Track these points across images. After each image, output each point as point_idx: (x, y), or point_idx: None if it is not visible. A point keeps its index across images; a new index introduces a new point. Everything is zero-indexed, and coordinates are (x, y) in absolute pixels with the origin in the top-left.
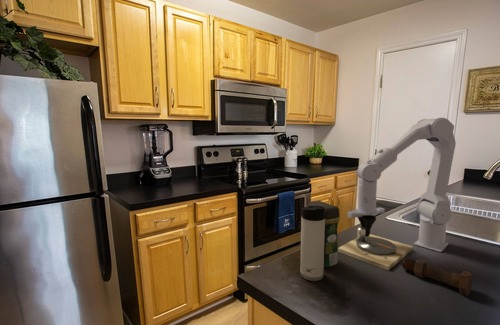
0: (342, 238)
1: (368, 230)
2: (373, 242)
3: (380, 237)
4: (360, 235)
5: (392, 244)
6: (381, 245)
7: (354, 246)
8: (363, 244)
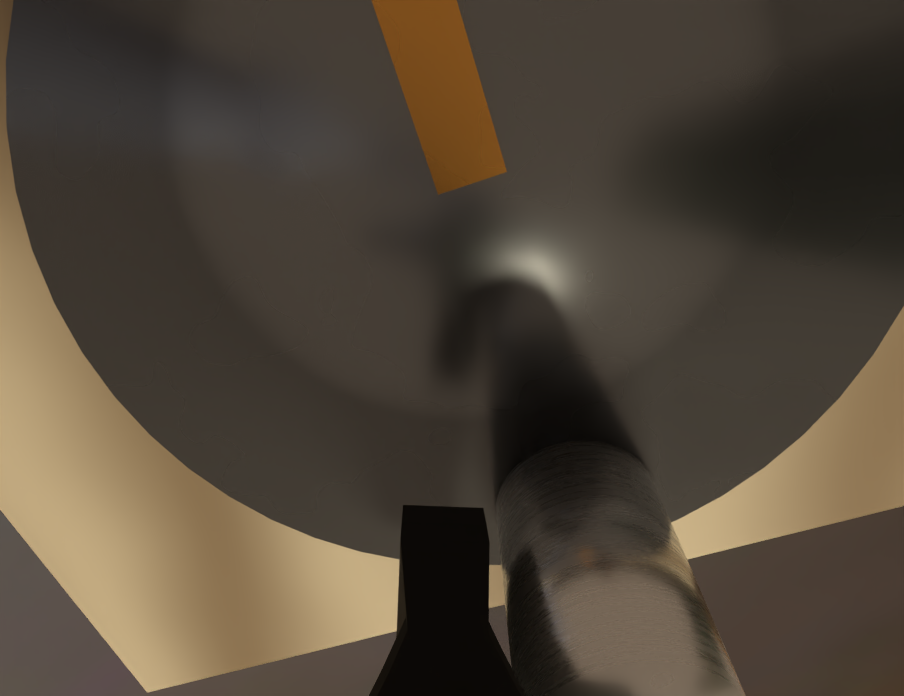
0: None
1: (475, 616)
2: (465, 301)
3: (8, 489)
4: (682, 555)
5: (76, 4)
6: (465, 57)
7: None
8: (782, 306)
